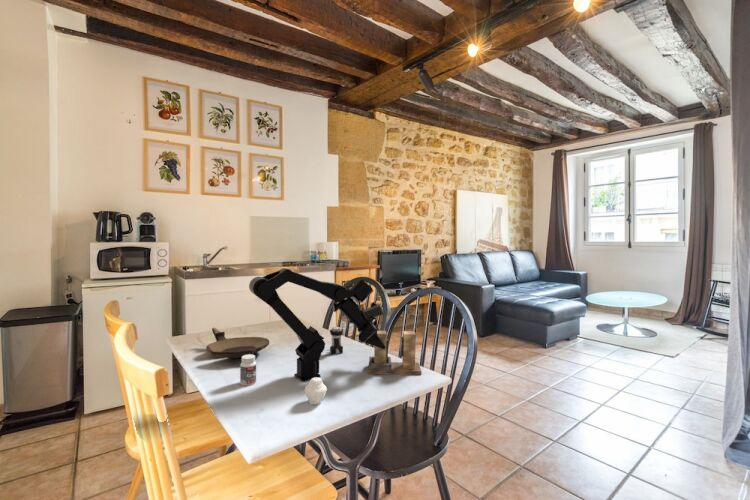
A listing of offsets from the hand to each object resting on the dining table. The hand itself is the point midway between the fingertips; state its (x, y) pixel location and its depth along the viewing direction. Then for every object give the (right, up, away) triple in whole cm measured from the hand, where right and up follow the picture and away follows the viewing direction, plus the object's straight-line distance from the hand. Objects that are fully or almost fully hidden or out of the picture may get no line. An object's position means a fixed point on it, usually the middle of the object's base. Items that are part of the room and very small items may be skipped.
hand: (384, 344), depth 123 cm
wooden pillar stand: (+3, -9, 0) cm, 10 cm away
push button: (-19, -8, +17) cm, 27 cm away
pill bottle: (-43, -9, -12) cm, 46 cm away
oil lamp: (-57, -8, +15) cm, 59 cm away
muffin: (-20, -10, -24) cm, 33 cm away
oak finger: (-2, -8, 0) cm, 8 cm away
